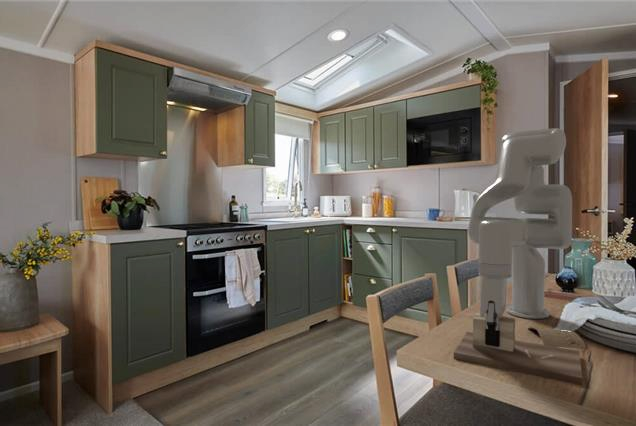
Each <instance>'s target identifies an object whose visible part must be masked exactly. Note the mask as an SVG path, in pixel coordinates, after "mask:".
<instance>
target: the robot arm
mask: <svg viewBox="0 0 636 426" xmlns="http://www.w3.org/2000/svg"><path fill="white" fill-rule="evenodd" d="M500 143H501V144H500V145H501V148H500V153H499V157H498V163H497V164H498V165H497V169H496V174H495V178H494V179H495V181H494V183H493V184H492V185H490V186H489V187H488V188H486V189H485V190H484V191H483V192H482V193H481V194H480V195H479V196H478V198H477V199H476V200H475V202H474V204H473V205H472V209H471V212H470V219H469V224H468V237H469V239H470V241H471V242H473V243H474V244H477V245H478V276H480V277H481V284H480V285H481V286H480V302H479V305H480V306H479V313H480V316H481V317H483V316H485V314H486V328H485V344H486V345H490V346H495V347H499V346H500V330H499V319H500V318H502V316H503V315H504V314H505V311H506V312H507V313H508V314H509V315H512V316H516V317H519V318H525V319H531V320H533V319H535V320H536V319H537V320H539V319H540V320H542V319H547V318H549V317H550V315H551V314H550V311H549V310H548V309H547V308H545V292H546V291H545V287H546V285H545V284H546V282H545V281H546V279H545V277H546V276H545V275H546V261H545V258H544V257H543V255H542V254H541V253H540V252H539V250H538V249H548V250H549V249H552V250H565V249H568V248H570V246H571V243H572V241H573V196H572V192H571V189H570V188H569V186H567V185H564V184H546V183H545V169H544V166H547V165H548V166H549V165H553V164H556V163H557V162H558V161H559V160H560V158H561V157H562V156H563V154H564V152H565V150H566V146H567V137H566V134H565V132H564V130H563V129H561V128H553V127H552V128H545V129H542V128H541V129H534V130H529V129H528V130H521V131H513V132H510V133H507V134H505V135H504V136H502V137H501V141H500ZM511 199H514V202H513V203H514V208H515V210H516V212H518V213H519V214H525V215H546V216H547V215H548V216H552V217H554V218H539V217H537V218H536V217H522V218H521V217H520V218H517V217H501V216H500V217H499V216H497V217H496V216H486V214H488V212H489V211H490V209H491V208H493V207H495V206H496V205H498V204H501V203H503V202H505V201H507V200H511ZM510 278H511V304H510V305H507V306H506V303H507V279H510ZM494 315H496V316H497V317H494ZM503 317H504V316H503ZM494 320H496V323H495V322H494Z"/></svg>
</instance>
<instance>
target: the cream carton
mask: <svg viewBox="0 0 636 426" xmlns="http://www.w3.org/2000/svg"><path fill="white" fill-rule="evenodd" d="M486 314H487V313H486ZM486 314H485V316H483V317H481V316H480V312H476V313H475V314H474V316H473V317H472V333H473V347H474V348H479V349H484V350H489V351H495V352H500V353H505V354H511V355H513V352H514V349H515V340H516V317H509V316H502V318H500V319H499V330H500V346H499V347H495V346H490V345H486V344H485V328H486ZM494 317H497V316H496V315H494ZM494 322H495V323H496V320H494Z"/></svg>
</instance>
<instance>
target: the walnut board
mask: <svg viewBox="0 0 636 426" xmlns="http://www.w3.org/2000/svg"><path fill="white" fill-rule="evenodd" d="M453 359H454V360H455V359H457V360H460V361H465V362H471V363H474V364H480V365H484V366H490V367H493V368H499V369H504V370H507V371H508V370H510V371H514V372H518V373H523V374H527V375H533V376H537V377H543V378H548V379H552V380H557V381H561V382H566V383H571V384H576V385H580V386H581V385H583V374H582V365H581V364H582V363H581V357H580V351H579V350H575V349H571V348H564V347H553V346H547V345H544V344H540V343H534V342H528V341H523V340H517V339H515V349H514V352H513V355H511V354H505V353H500V352H495V351H489V350H484V349H479V348H474V347H473V332H470V331H466V333H465V334H464V336H463V337H462V339H461V341H460V342H459V343H458V345H457V347H456V348H455V349H454V350H453Z"/></svg>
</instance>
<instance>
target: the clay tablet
mask: <svg viewBox="0 0 636 426" xmlns="http://www.w3.org/2000/svg"><path fill="white" fill-rule="evenodd" d="M527 329H528V330H533V331H537V333H538V335H539V336H540V339H541V341H542V343H543V345H547V346H553V347H559V348H565V349H578V350H579V349H580V350H586V349H587V346H586V344H585V342H584V340H583V339H582V337H580V335H579V334H578V333H576V332H574V331H572V330H571V331H572V332H568V331H561V330H559V328H557V329H556V328H542V327H541V328H540V327H531V326H530V327H528V328H527Z"/></svg>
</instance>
